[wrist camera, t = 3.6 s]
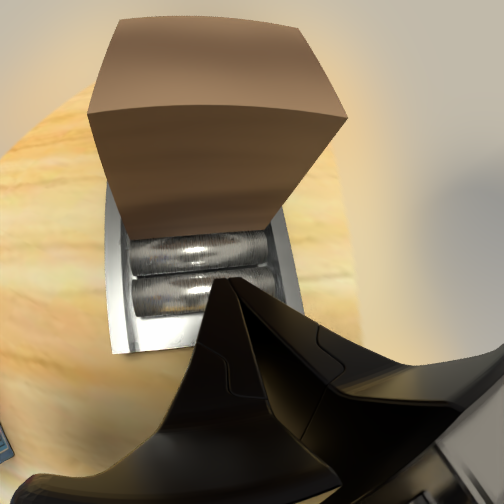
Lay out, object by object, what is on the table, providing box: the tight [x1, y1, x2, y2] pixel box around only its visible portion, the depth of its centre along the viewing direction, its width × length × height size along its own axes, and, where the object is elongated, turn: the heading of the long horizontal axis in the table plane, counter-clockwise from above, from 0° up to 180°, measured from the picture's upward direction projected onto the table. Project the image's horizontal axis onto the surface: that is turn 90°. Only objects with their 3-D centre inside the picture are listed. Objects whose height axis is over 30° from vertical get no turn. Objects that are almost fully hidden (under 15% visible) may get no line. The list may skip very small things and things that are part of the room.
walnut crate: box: [87, 16, 348, 240], centre depth 10 cm, size 5×6×8 cm
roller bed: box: [105, 181, 305, 354], centre depth 14 cm, size 17×9×6 cm, turn 10°
